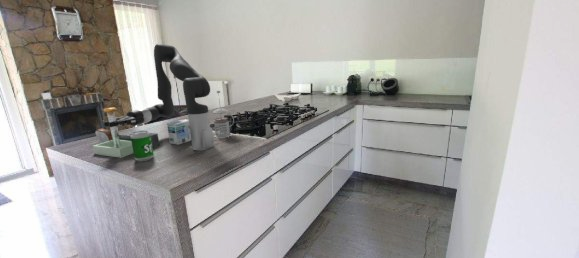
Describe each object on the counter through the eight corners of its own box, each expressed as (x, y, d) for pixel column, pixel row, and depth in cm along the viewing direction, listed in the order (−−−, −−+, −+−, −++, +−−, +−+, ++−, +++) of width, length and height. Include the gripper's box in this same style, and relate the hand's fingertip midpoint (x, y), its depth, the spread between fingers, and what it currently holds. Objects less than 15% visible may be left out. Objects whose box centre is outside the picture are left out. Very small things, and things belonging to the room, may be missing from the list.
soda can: (141, 163, 115) (136, 135, 112) (131, 160, 119) (126, 133, 116) (157, 157, 122) (153, 131, 119) (147, 154, 126) (143, 129, 123)
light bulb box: (178, 145, 139) (175, 124, 136) (169, 143, 142) (166, 123, 139) (194, 139, 148) (192, 119, 145) (186, 138, 151) (183, 118, 148)
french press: (215, 134, 156) (210, 90, 150) (235, 132, 158) (231, 88, 151) (212, 139, 147) (207, 92, 141) (234, 137, 148) (230, 90, 142)
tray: (142, 149, 133) (140, 142, 132) (121, 157, 123) (119, 149, 122) (116, 146, 140) (114, 139, 139) (94, 153, 130) (92, 145, 129)
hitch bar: (159, 145, 140) (157, 133, 138) (147, 149, 134) (145, 137, 132) (128, 141, 148) (126, 130, 147) (116, 145, 142) (114, 134, 140)
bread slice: (116, 146, 141) (113, 130, 139) (109, 147, 139) (106, 131, 137) (102, 142, 149) (99, 127, 147) (96, 143, 147) (92, 128, 145)
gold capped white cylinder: (126, 146, 132) (118, 107, 128) (116, 149, 128) (108, 109, 123) (119, 145, 134) (111, 107, 129) (109, 149, 130) (101, 109, 125)
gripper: (128, 109, 142) (94, 116, 127) (148, 110, 137) (115, 117, 122) (131, 123, 144) (98, 131, 129) (150, 124, 139) (119, 133, 124)
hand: (106, 124), depth 125 cm, fingers closed on gold capped white cylinder, 2 cm apart
